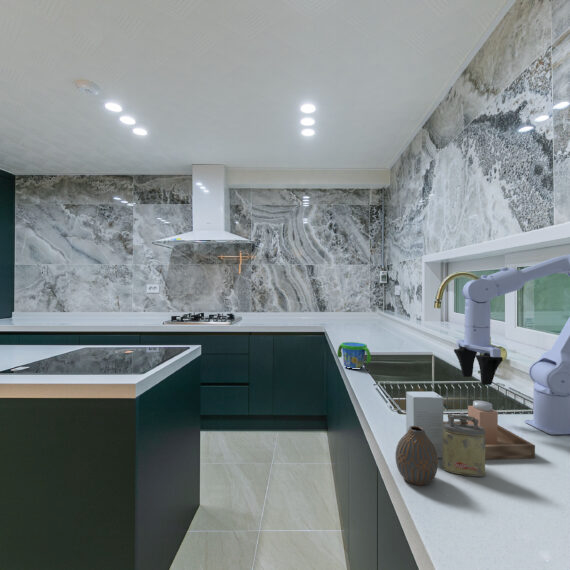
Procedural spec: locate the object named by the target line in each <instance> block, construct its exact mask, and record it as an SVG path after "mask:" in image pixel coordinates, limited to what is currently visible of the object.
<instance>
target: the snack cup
mask: <svg viewBox="0 0 570 570" xmlns="http://www.w3.org/2000/svg"><path fill="white" fill-rule="evenodd" d="M365 355H367V356H366V364H369V363H371V361H372V355H371V352H370V350H369V348H368V346H367V344H366V343H361V342H354V341H352V342H351V341H350V342H349V341H348V342H347V341H346V342H342V343H340V345H339V346H338V349H337V357H338V358H342V359H343V365H344V366H346V367H350V368H361V367H362V368H363V367H364V361H365Z"/></svg>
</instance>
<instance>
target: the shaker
mask: <svg viewBox="0 0 570 570" xmlns="http://www.w3.org/2000/svg"><path fill="white" fill-rule="evenodd" d="M498 415H499V414H498V411H497V410H495V409H493V403H491V402H488V401H485V400H473V401H472V405H467V416H470V417H473V418H474V417H475V419H478V426H480V427H482V428H484V429H485V445H494V444H497V433H498V425H499V423H498V418H499V416H498ZM468 424H470V425H474V423H473V422H471V421H468Z"/></svg>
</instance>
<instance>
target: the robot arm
mask: <svg viewBox="0 0 570 570" xmlns="http://www.w3.org/2000/svg"><path fill="white" fill-rule="evenodd" d="M557 273H558V274H564V275H565V274H566V275H567V276H568V277H569V278H570V254H565V255H560V256H555V257H552V258H549V259H546V260H544V261H542V262H538V263H535V264H534V265H530V266H528V267H525V268H523V269H522V268H521V269H517V268H514V267H509V268H508V267H507V266H505V267H501V268H499V271H497V272H494V273H491V274H488V275H487V274H482V275H480V278H478V279H473V280H472V279H471V280H469V281H467V282H466V283H465V284H464V286H463V287H462V290H461V294H462V297H463V298H464V300H465V301H464V304H465V305H464V306H465V307H464V337H463V338H464V339H456V348H454V349H453V353H454V354H455V355H456V357H457V359H458V363H459V366H460V370H461V374H462V377H465V378H472V377H473V371H474V364H475V360H477V362H478V365H479V371H480V382H481V385H484V386H491V385H493V381H494V378H495V374H496V371H497V370H498V368H499V366H500V365H501V364H502V362H504V361H503V359H504V357H501V355H502V349H501V348H498V347H496V346H494V345H491V301H492V300H493V298H497V297H500V296H503V295H507V294H509V293H513V292H516V291H519V290H521V289H522V288H523V287H524V286H525V283H526V282H530V281H533V280H536V279H540V278H543V277H546V276H550V275H554V274H557ZM478 353H480V354H478ZM528 375H529V378H530V379H531V381H533V382H534V383H533V384H534V385H533V405H532V406H533V407H532V408H533V409H532V410H533V411H532V412H533V415H532V416H533V417H532V419H525V420H524V421H523V422H524V423H525V424H528V425H530V426H532V427H533V428H536V429H537V430H540V431H542V432H544V433H546V434H548V435H555V436H556V435H570V316H569V317H568V319H567V321H566V322H565V325H564V326H563V328H562V329H561V331H560V333H559V334H558V336H557V338H556V340H555V342H554V343H553V345H552V347H551V349H549V350H547V351H545V352H544V353H541V356H540V357H539V359H538V360H536V361H534V362H533V363H532V364H531V365H530V367H529V370H528Z"/></svg>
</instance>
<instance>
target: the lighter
mask: <svg viewBox="0 0 570 570" xmlns="http://www.w3.org/2000/svg"><path fill="white" fill-rule="evenodd" d="M455 420H457V421H461V423H454V421H455ZM447 421H448V422H447V423H444V429H443V458H442V465H441V468H442V469H443V470H445V471H446V472H448V473H451V474H457V475H461V476H464V477H470V476H471V477H478V478H480V477H485V476H486V459H485V429H484V428H482V427H480V426H478V419H475V417H474V418H473V417H470V416H468V414H465V413H459V414H452V413H447ZM467 421H471V422H473V423H474V425H470V424H465V422H467Z"/></svg>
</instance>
